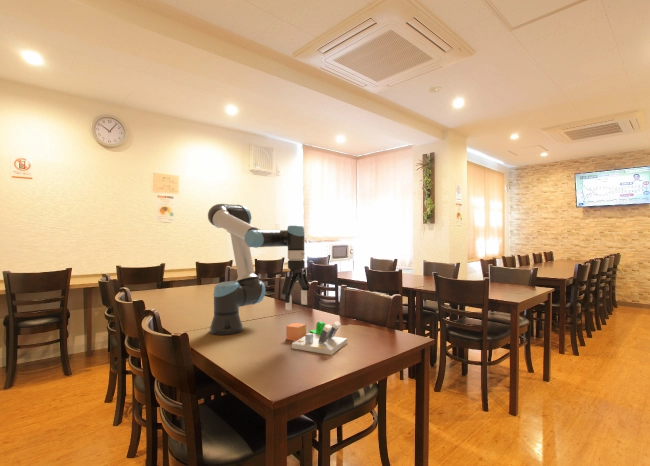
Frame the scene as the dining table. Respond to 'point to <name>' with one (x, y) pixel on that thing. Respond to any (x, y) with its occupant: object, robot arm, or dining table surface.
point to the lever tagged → (324, 334)
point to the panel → (324, 348)
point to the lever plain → (333, 329)
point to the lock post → (309, 338)
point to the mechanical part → (318, 328)
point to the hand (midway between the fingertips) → (296, 307)
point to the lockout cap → (295, 331)
